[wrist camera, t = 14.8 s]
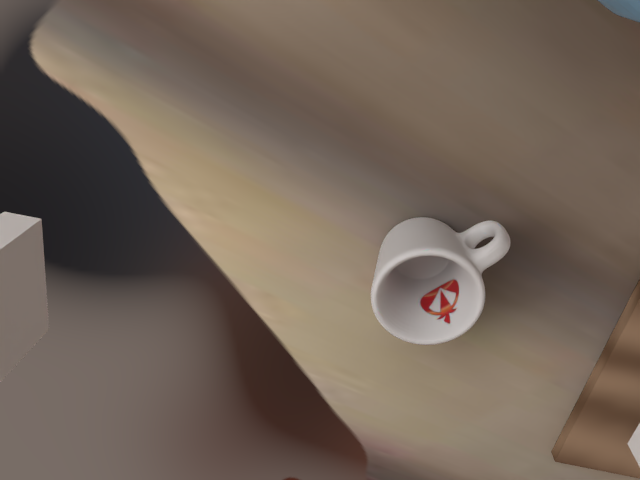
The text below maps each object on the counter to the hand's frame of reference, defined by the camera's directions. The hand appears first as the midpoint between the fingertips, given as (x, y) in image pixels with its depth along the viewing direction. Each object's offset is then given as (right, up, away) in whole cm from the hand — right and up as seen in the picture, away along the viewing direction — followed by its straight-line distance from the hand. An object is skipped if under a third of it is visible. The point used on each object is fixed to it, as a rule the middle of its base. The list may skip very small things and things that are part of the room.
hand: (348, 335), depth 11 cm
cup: (+9, +2, +34) cm, 35 cm away
